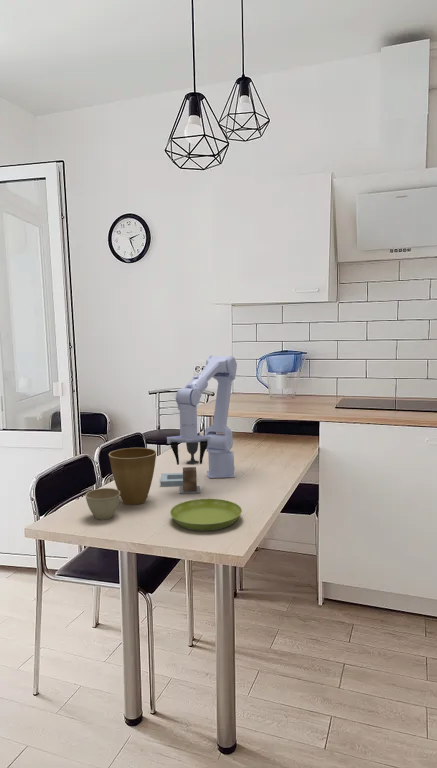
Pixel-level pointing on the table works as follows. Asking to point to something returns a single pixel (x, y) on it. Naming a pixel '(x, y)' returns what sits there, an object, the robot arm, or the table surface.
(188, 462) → the sundae
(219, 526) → the saucer
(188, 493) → the plate
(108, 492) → the flower pot
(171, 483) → the pocket holder
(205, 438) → the robot arm
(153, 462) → the plant pot
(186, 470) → the walnut block
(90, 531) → the table surface
